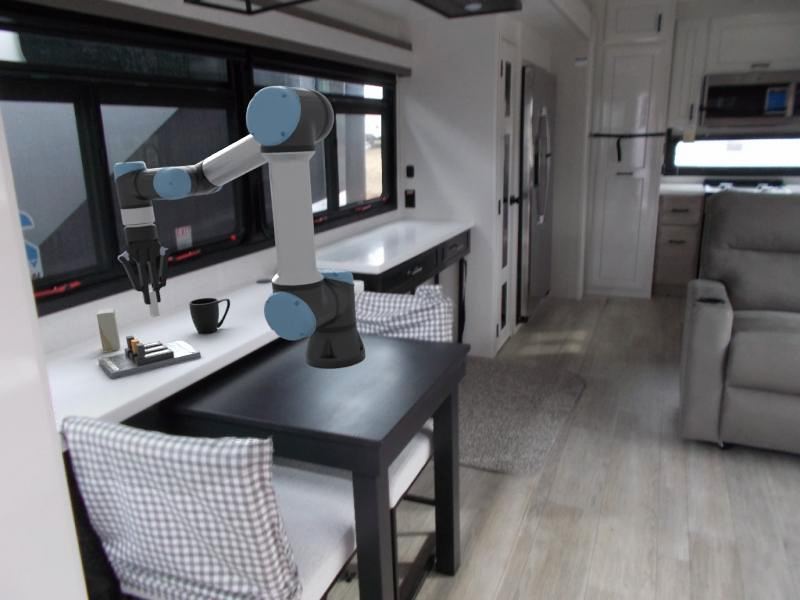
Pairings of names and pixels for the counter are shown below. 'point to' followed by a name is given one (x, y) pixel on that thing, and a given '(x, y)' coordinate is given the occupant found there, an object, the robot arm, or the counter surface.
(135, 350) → the breaker handle
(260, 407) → the counter surface
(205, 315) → the mug
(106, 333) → the box
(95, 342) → the counter surface
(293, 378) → the counter surface
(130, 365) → the panel
